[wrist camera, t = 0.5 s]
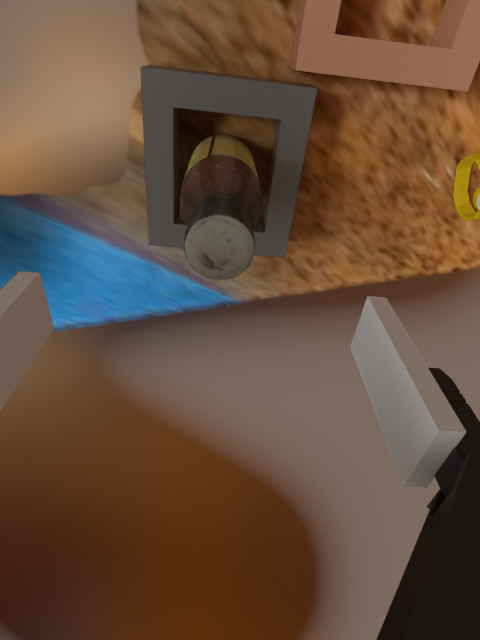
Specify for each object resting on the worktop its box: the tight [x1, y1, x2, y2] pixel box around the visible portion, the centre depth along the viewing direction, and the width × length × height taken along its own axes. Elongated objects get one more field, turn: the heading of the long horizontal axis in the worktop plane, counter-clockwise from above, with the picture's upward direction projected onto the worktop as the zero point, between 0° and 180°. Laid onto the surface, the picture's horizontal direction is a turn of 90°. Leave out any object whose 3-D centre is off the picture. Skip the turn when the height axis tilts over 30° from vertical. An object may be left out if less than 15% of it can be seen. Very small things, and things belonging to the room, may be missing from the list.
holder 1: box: [141, 65, 318, 258], centre depth 35 cm, size 14×15×4 cm
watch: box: [453, 153, 480, 221], centre depth 35 cm, size 6×3×6 cm, turn 12°
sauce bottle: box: [179, 134, 263, 280], centre depth 29 cm, size 6×6×20 cm
